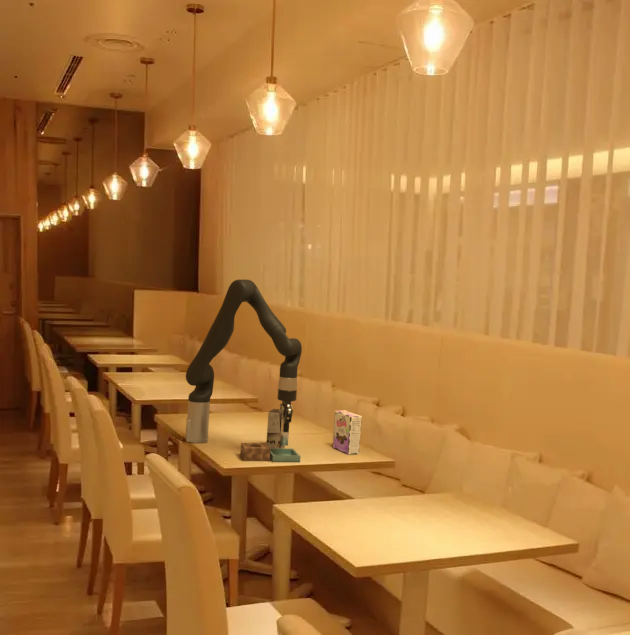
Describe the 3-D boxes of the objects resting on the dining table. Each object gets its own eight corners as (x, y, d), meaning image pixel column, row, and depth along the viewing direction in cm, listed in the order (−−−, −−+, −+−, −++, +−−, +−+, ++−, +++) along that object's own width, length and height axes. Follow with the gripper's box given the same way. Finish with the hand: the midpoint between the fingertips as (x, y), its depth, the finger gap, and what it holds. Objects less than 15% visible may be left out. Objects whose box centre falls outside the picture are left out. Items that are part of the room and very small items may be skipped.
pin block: (244, 461, 305) (245, 448, 305) (240, 455, 315) (241, 442, 315) (269, 461, 308) (270, 448, 308) (264, 455, 318) (265, 443, 317)
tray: (272, 462, 307) (273, 455, 306) (266, 454, 319) (267, 448, 319) (300, 462, 309) (300, 456, 309) (292, 454, 322) (293, 448, 322)
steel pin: (280, 445, 312) (282, 420, 312) (279, 443, 315) (280, 419, 315) (288, 445, 313) (290, 420, 312) (287, 444, 316) (288, 419, 315)
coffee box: (280, 451, 327) (282, 412, 326) (265, 449, 328) (267, 411, 327) (285, 446, 336) (287, 409, 335) (270, 445, 337) (273, 408, 336)
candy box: (331, 447, 340) (334, 410, 339) (343, 447, 343) (346, 409, 342) (347, 455, 328) (350, 416, 327) (359, 454, 331) (362, 415, 330)
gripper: (274, 385, 319) (272, 427, 320) (281, 390, 305) (279, 434, 306) (292, 386, 321) (290, 427, 321) (300, 391, 307) (297, 434, 308)
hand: (284, 430), depth 314 cm, fingers closed on steel pin, 3 cm apart
